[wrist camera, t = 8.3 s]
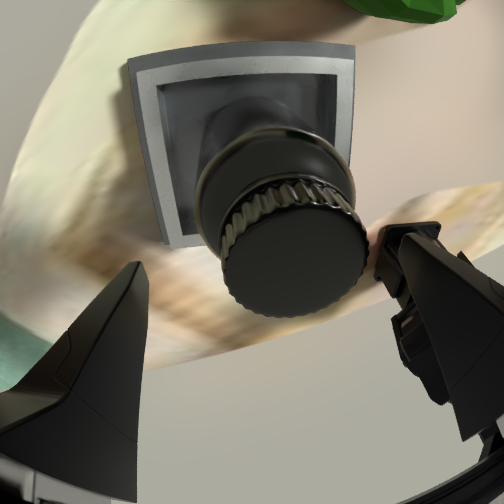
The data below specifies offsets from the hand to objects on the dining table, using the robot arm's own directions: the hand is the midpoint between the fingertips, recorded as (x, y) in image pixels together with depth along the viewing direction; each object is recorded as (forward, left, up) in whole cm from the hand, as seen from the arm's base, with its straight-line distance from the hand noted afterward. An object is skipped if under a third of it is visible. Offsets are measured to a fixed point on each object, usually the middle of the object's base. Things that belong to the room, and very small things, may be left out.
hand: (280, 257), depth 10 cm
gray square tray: (0, 0, -12) cm, 12 cm away
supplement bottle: (0, 0, -12) cm, 12 cm away
